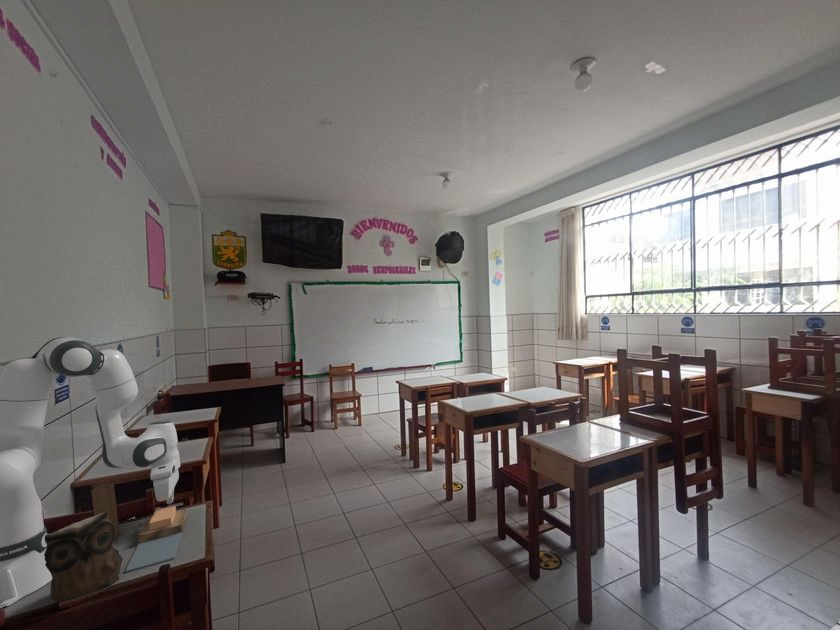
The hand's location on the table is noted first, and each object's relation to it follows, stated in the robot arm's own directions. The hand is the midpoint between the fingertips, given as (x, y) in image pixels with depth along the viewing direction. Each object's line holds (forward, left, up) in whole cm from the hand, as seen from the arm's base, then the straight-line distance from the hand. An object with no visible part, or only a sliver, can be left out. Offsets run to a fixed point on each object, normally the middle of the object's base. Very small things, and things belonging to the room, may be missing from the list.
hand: (170, 502), depth 144 cm
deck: (-1, -10, -5) cm, 12 cm away
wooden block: (-20, -5, -5) cm, 21 cm away
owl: (-14, -34, -5) cm, 37 cm away
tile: (-1, -10, -2) cm, 10 cm away
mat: (-1, -24, -5) cm, 24 cm away
